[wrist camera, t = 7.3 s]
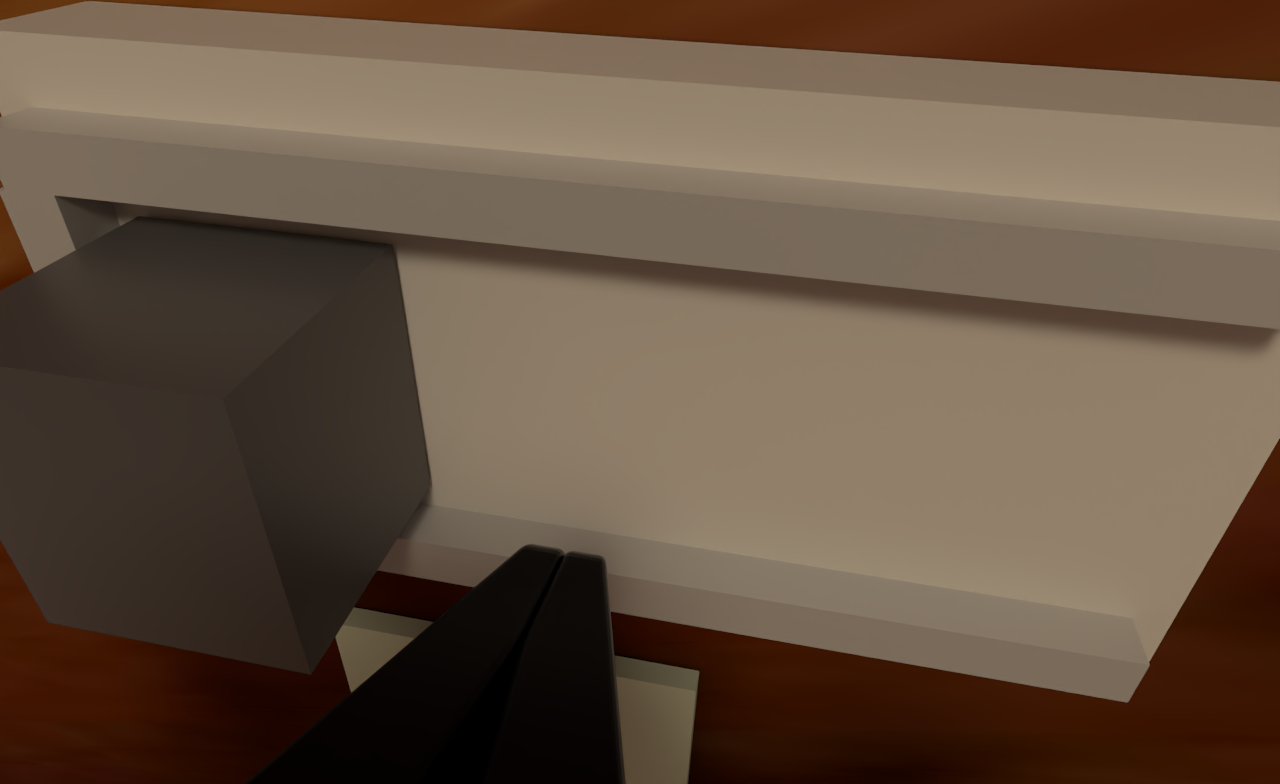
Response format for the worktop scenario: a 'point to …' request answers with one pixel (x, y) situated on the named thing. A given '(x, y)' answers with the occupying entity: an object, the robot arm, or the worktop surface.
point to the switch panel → (742, 305)
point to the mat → (646, 691)
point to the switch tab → (208, 436)
